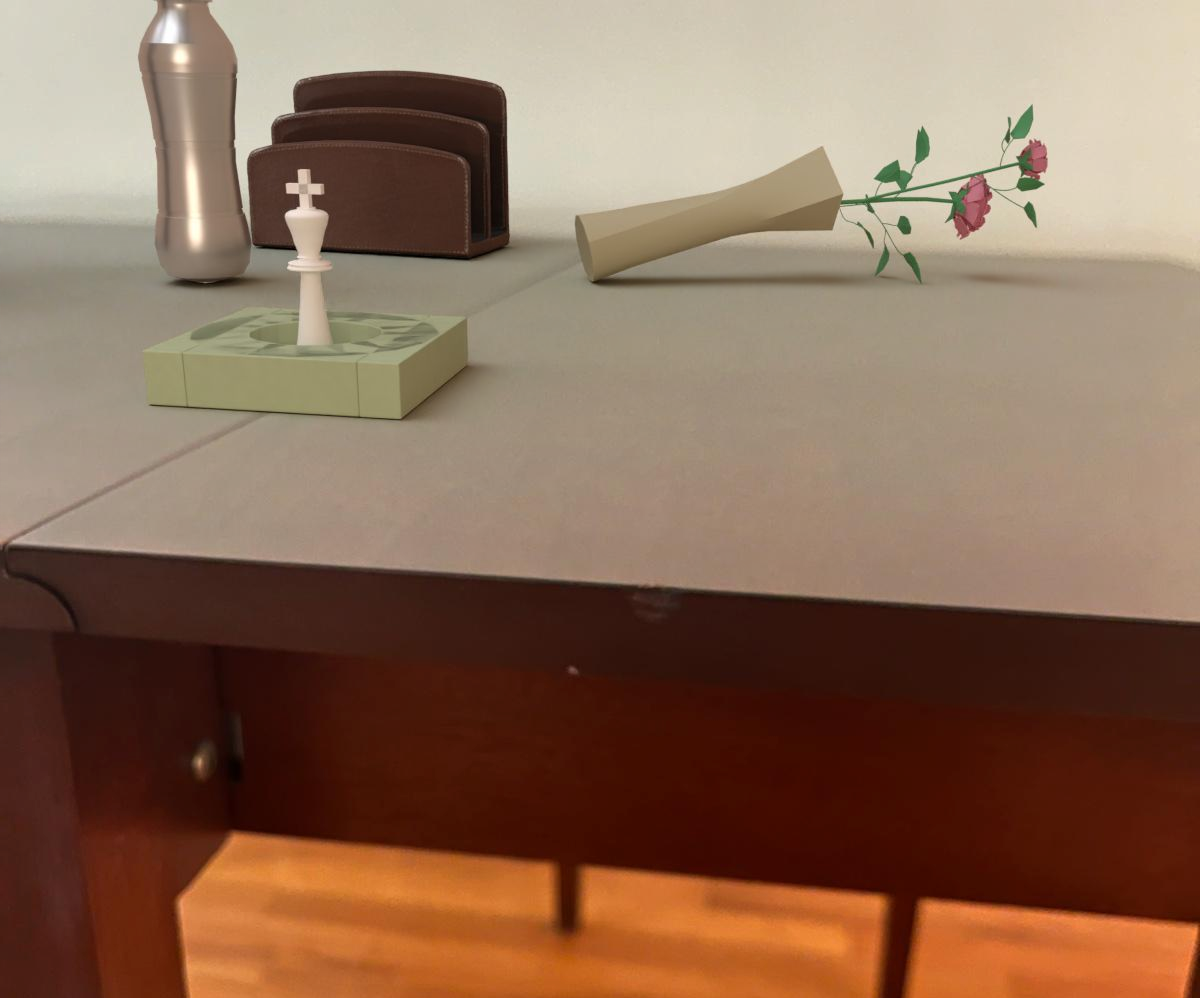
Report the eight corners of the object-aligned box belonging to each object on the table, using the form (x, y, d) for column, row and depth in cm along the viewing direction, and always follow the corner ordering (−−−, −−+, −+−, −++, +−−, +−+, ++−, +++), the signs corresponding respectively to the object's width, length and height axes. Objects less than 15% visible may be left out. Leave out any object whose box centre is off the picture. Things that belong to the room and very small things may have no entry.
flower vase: (601, 371, 103) (1012, 265, 108) (627, 355, 91) (1089, 236, 95) (563, 221, 102) (980, 120, 106) (584, 185, 90) (1054, 72, 94)
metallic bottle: (138, 283, 93) (103, -32, 85) (204, 271, 98) (177, -25, 91) (210, 291, 90) (181, -33, 83) (274, 278, 96) (252, -26, 88)
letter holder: (306, 235, 120) (295, 68, 115) (511, 246, 116) (510, 72, 110) (250, 247, 112) (236, 67, 106) (470, 260, 107) (466, 72, 101)
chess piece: (347, 396, 62) (335, 175, 59) (249, 390, 63) (231, 171, 59) (381, 374, 67) (372, 167, 63) (289, 369, 68) (274, 164, 64)
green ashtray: (147, 404, 60) (141, 350, 59) (252, 353, 71) (248, 306, 70) (401, 419, 59) (399, 363, 58) (468, 364, 70) (467, 316, 69)
